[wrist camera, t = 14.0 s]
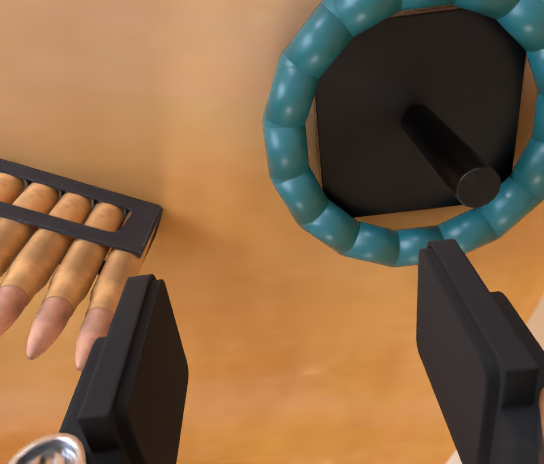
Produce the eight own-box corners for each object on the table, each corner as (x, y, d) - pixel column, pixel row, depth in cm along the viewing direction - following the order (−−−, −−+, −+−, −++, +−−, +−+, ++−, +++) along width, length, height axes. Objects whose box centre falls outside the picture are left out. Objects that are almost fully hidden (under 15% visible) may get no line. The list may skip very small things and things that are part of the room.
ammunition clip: (163, 206, 29) (110, 357, 18) (156, 234, 30) (101, 393, 19) (-38, 147, 27) (-226, 279, 16) (-40, 178, 28) (-220, 322, 17)
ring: (244, -23, 22) (243, -20, 20) (597, -69, 22) (627, -71, 20) (281, 266, 30) (283, 286, 28) (546, 237, 29) (564, 256, 27)
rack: (307, 24, 24) (332, 64, 16) (521, -4, 24) (654, 23, 16) (322, 211, 29) (347, 313, 21) (500, 190, 29) (593, 285, 21)
